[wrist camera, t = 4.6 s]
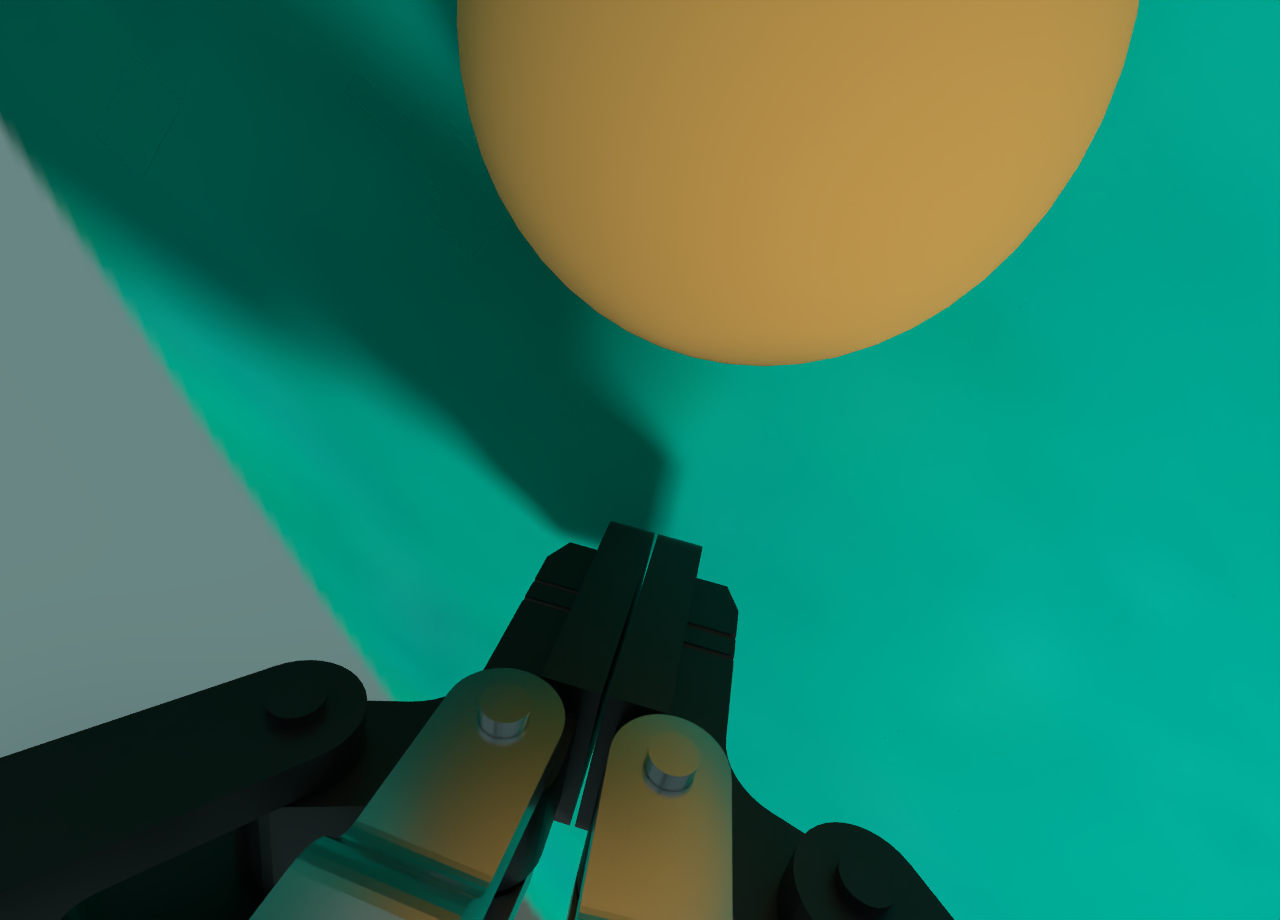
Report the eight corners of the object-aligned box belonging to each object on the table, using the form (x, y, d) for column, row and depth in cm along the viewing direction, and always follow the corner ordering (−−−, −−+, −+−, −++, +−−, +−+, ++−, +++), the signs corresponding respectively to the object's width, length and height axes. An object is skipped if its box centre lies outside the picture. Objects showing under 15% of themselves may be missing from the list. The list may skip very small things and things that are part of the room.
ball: (603, -245, 8) (292, -922, 3) (1104, -152, 7) (1763, -753, 2) (536, 250, 10) (308, 352, 5) (909, 344, 10) (1038, 549, 5)
